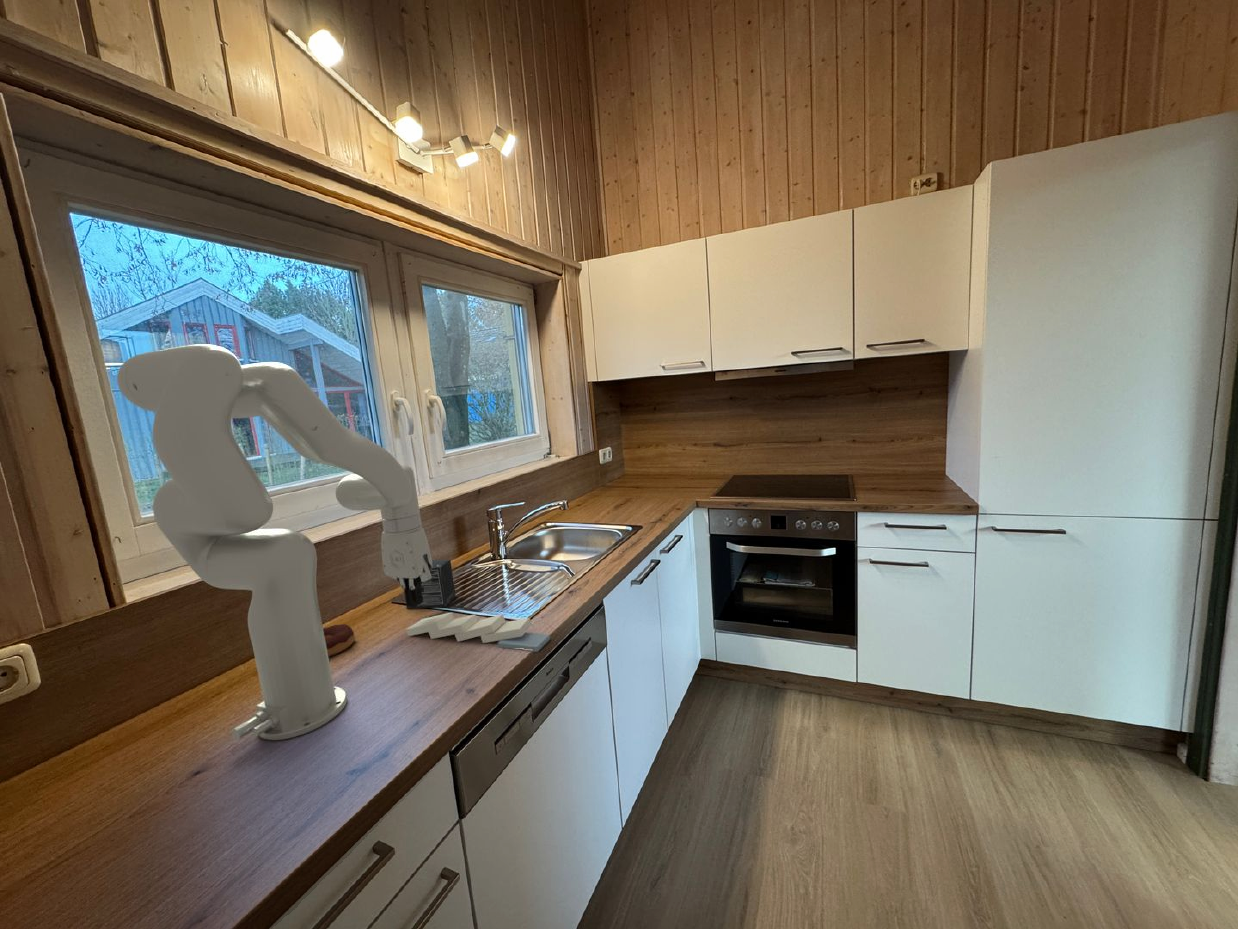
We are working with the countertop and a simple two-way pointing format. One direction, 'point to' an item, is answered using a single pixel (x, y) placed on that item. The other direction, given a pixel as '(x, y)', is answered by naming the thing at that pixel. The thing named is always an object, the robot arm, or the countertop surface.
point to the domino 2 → (455, 627)
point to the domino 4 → (508, 630)
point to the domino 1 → (430, 624)
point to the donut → (338, 638)
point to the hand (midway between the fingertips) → (415, 604)
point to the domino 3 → (481, 628)
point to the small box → (438, 586)
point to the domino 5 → (526, 641)
